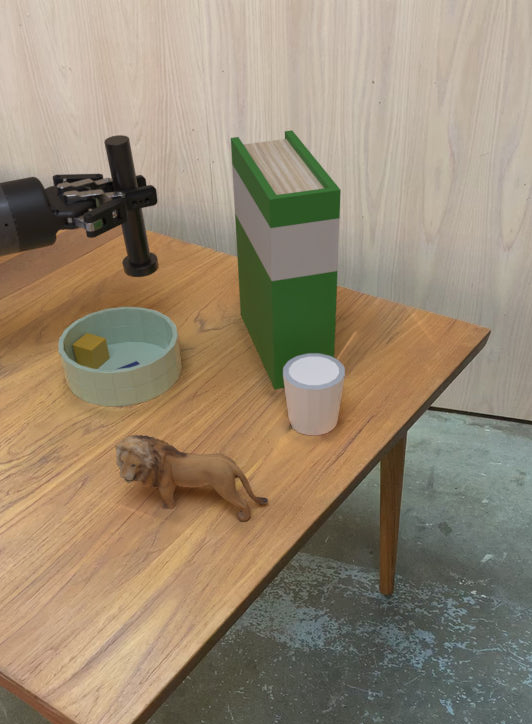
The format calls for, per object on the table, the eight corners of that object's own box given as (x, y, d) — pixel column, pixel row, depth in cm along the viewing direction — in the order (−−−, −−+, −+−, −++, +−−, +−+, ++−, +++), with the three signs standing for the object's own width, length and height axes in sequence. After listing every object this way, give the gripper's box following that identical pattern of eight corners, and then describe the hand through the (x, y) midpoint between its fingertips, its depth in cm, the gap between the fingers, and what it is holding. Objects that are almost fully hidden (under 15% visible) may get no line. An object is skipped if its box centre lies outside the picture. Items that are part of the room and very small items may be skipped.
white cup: (277, 434, 88) (276, 384, 83) (290, 398, 93) (289, 349, 88) (337, 442, 87) (339, 392, 82) (347, 405, 92) (350, 355, 87)
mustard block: (76, 364, 98) (71, 344, 96) (91, 352, 100) (86, 332, 98) (95, 370, 97) (91, 350, 95) (110, 358, 99) (106, 338, 97)
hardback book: (240, 318, 106) (230, 137, 90) (293, 309, 108) (292, 130, 91) (274, 393, 94) (269, 199, 77) (333, 382, 95) (340, 189, 79)
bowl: (44, 393, 95) (33, 355, 91) (109, 334, 104) (102, 297, 101) (143, 422, 90) (137, 383, 87) (202, 357, 100) (198, 320, 96)
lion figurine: (122, 524, 79) (107, 458, 72) (129, 487, 82) (116, 421, 76) (268, 522, 78) (265, 455, 72) (268, 485, 82) (265, 419, 76)
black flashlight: (118, 267, 99) (90, 139, 88) (149, 256, 100) (126, 129, 89) (133, 281, 96) (106, 151, 85) (164, 269, 98) (142, 140, 87)
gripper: (13, 210, 80) (170, 178, 86) (-18, 164, 89) (126, 138, 95) (29, 276, 85) (176, 242, 91) (-2, 226, 94) (133, 198, 100)
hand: (149, 189), depth 93 cm, fingers closed on black flashlight, 3 cm apart
